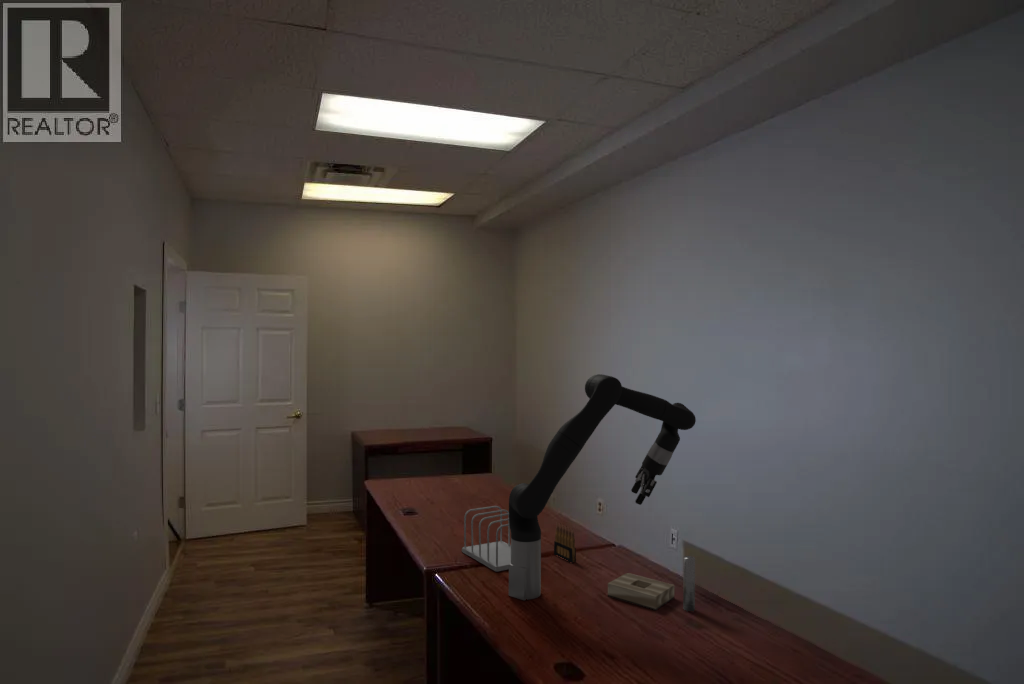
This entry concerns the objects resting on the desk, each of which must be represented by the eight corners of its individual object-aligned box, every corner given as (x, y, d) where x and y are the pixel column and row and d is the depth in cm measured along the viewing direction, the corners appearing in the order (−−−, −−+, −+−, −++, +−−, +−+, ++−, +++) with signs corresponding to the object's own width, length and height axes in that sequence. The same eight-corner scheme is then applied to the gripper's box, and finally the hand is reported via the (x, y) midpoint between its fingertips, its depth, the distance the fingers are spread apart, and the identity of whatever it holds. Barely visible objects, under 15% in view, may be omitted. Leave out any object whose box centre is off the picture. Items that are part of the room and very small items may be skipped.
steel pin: (691, 612, 186) (692, 560, 186) (681, 609, 188) (681, 557, 188) (696, 609, 189) (696, 557, 189) (686, 606, 191) (686, 555, 191)
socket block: (655, 610, 188) (655, 596, 188) (607, 596, 198) (607, 583, 198) (674, 598, 197) (674, 584, 197) (627, 585, 207) (627, 572, 207)
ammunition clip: (553, 554, 236) (553, 521, 236) (557, 554, 237) (558, 521, 237) (571, 563, 227) (572, 529, 227) (576, 562, 228) (576, 528, 228)
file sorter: (539, 564, 227) (539, 519, 227) (495, 573, 217) (496, 526, 217) (501, 545, 248) (502, 504, 248) (461, 552, 239) (461, 510, 239)
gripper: (644, 445, 228) (622, 484, 231) (652, 461, 214) (629, 502, 217) (663, 454, 228) (641, 493, 231) (672, 471, 214) (649, 511, 217)
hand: (635, 497), depth 224 cm, fingers open, 8 cm apart
